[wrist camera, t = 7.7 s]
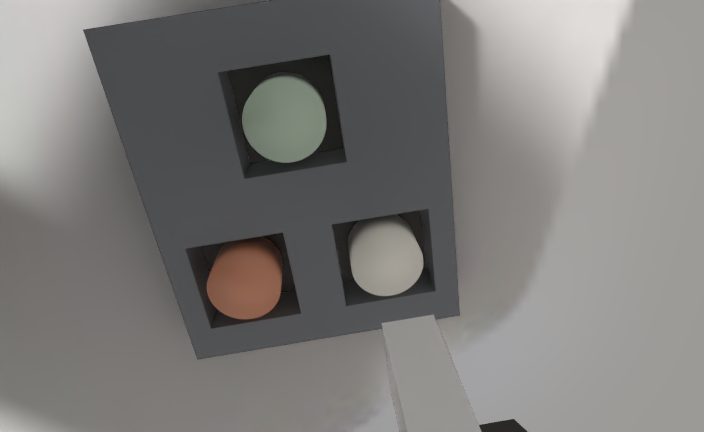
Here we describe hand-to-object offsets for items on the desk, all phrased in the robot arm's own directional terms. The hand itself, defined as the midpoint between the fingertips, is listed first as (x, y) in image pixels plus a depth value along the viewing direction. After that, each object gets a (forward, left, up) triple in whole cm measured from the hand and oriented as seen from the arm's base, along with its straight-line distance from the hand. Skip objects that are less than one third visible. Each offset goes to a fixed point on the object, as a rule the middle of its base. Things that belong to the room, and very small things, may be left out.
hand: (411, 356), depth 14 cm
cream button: (0, 0, -8) cm, 8 cm away
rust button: (-6, 0, -8) cm, 10 cm away
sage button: (-3, +6, -8) cm, 11 cm away
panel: (-3, +3, -9) cm, 10 cm away
